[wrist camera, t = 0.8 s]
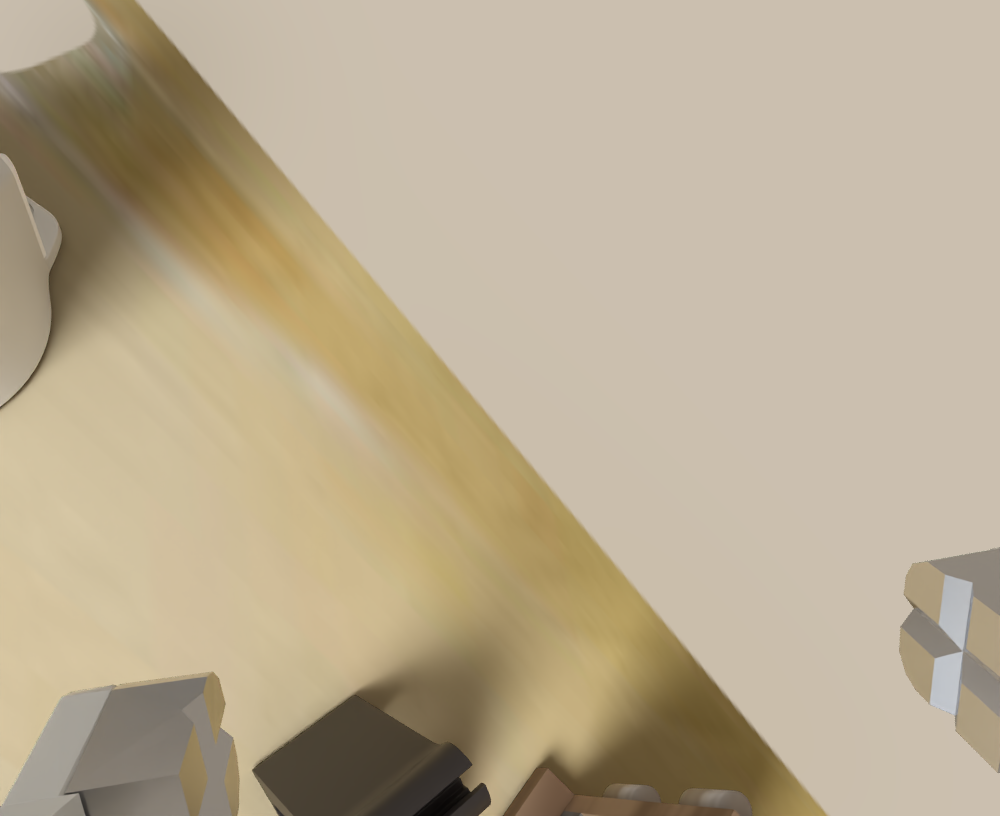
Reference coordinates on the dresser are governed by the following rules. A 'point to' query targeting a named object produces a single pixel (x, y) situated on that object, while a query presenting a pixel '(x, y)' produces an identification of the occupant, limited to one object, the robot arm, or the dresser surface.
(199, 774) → the robot arm
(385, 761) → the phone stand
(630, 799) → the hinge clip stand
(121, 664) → the dresser surface
